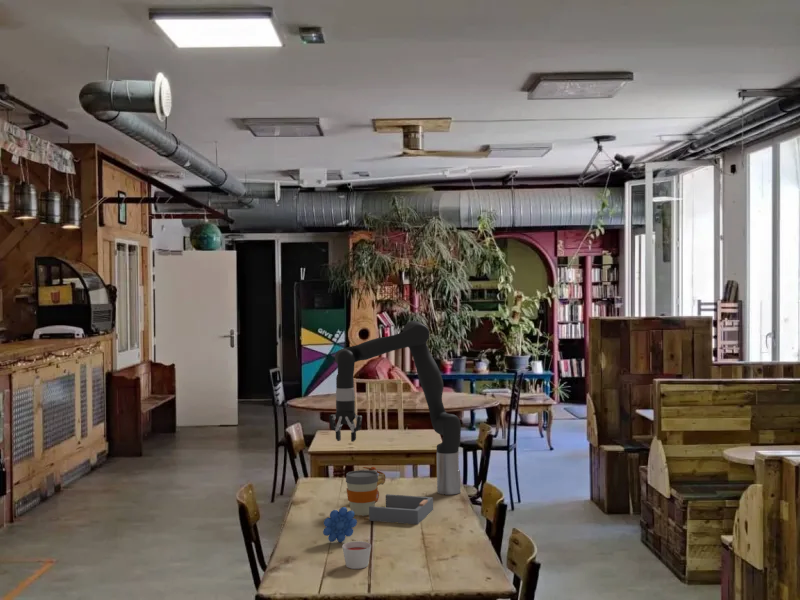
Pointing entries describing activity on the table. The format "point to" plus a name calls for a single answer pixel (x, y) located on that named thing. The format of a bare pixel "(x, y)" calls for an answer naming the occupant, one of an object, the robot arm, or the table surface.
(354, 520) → the grapes
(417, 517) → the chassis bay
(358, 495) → the reusable coffee cup
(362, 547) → the candle
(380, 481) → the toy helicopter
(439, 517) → the table surface
